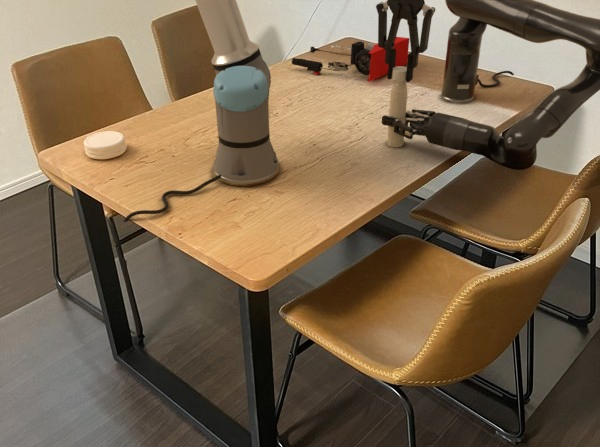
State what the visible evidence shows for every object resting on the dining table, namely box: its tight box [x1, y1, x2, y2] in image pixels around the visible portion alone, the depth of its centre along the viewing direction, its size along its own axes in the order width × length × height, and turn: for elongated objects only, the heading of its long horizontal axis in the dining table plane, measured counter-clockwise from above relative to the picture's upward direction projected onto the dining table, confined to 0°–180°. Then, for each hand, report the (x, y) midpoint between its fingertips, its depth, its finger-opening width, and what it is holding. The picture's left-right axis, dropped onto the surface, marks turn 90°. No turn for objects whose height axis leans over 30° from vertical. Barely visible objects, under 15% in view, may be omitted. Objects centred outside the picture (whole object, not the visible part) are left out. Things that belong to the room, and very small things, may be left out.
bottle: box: [386, 80, 408, 148], centre depth 152 cm, size 4×4×19 cm
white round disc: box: [83, 130, 128, 160], centre depth 155 cm, size 10×10×4 cm
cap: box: [391, 66, 407, 82], centre depth 148 cm, size 4×4×2 cm
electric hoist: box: [291, 36, 410, 82], centre depth 206 cm, size 10×27×30 cm
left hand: (400, 78), depth 148 cm, fingers closed on cap, 4 cm apart
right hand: (387, 116), depth 155 cm, fingers closed on bottle, 4 cm apart
